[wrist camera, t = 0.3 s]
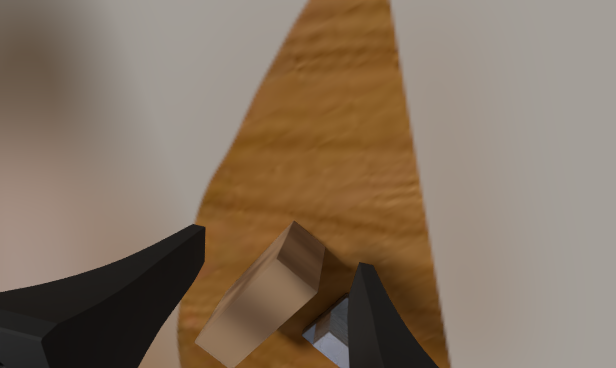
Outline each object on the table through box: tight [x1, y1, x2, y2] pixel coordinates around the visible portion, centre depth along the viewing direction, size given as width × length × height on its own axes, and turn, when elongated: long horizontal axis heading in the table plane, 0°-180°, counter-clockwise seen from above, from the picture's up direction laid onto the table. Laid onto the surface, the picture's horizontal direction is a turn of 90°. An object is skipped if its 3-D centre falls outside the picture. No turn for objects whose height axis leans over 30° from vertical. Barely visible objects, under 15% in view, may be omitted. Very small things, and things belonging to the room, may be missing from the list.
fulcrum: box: [302, 293, 349, 368], centre depth 25 cm, size 6×4×3 cm, turn 140°
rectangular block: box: [195, 221, 325, 368], centre depth 23 cm, size 10×4×6 cm, turn 140°
